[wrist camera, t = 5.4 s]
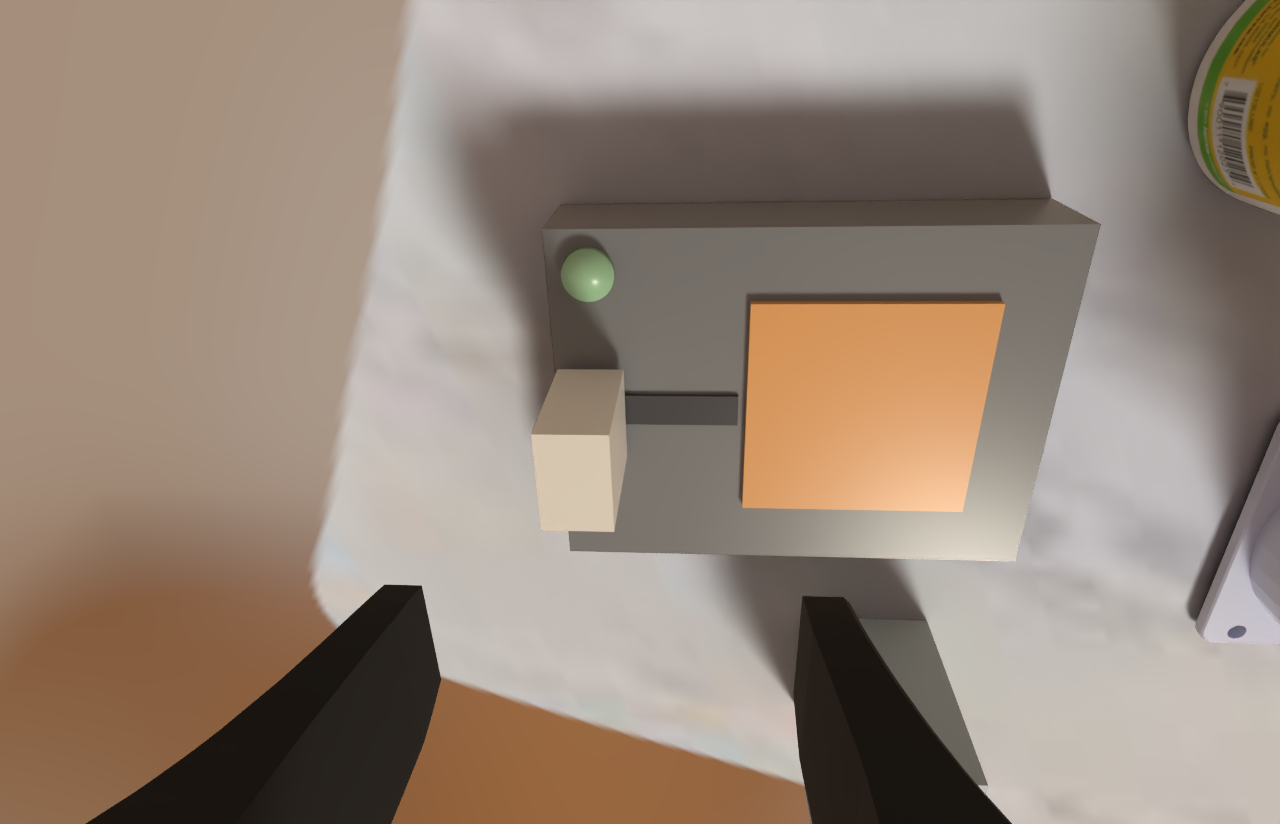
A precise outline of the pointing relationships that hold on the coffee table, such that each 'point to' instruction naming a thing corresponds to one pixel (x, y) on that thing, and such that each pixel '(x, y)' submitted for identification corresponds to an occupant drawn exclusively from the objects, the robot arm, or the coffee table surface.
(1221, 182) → the supplement bottle
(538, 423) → the lever
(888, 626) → the block
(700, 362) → the switch box
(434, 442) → the coffee table surface
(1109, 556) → the coffee table surface
